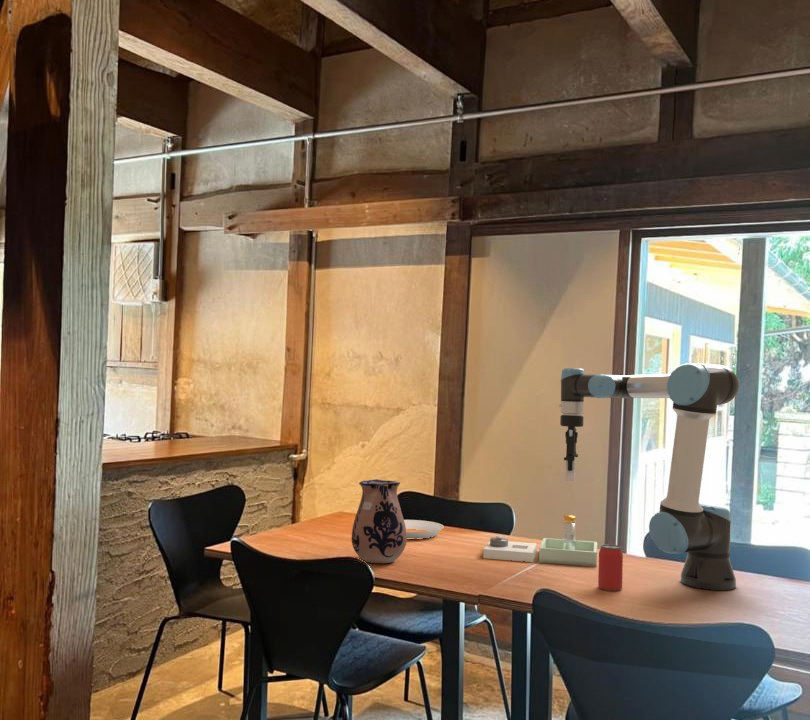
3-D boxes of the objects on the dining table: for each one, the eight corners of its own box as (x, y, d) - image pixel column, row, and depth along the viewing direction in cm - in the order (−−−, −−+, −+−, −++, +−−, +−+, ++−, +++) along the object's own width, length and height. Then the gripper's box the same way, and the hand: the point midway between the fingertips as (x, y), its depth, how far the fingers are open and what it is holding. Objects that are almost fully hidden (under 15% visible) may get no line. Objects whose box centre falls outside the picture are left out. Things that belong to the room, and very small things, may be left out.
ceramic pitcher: (361, 569, 239) (363, 486, 240) (340, 554, 259) (342, 477, 260) (414, 565, 246) (417, 484, 247) (390, 551, 265) (392, 476, 266)
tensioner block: (532, 562, 255) (533, 544, 255) (483, 558, 259) (483, 540, 259) (536, 552, 271) (537, 535, 271) (490, 548, 275) (490, 531, 275)
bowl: (410, 526, 314) (410, 517, 314) (457, 536, 296) (457, 526, 296) (363, 533, 296) (363, 524, 296) (410, 544, 278) (410, 534, 278)
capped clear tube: (574, 557, 260) (575, 517, 260) (562, 556, 261) (563, 516, 261) (575, 554, 264) (576, 515, 264) (562, 553, 265) (563, 514, 265)
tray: (596, 566, 251) (596, 552, 251) (539, 562, 256) (539, 548, 256) (596, 555, 269) (597, 541, 269) (543, 551, 273) (543, 537, 273)
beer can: (605, 592, 220) (606, 549, 220) (593, 586, 226) (594, 544, 227) (626, 591, 222) (627, 548, 222) (614, 585, 228) (614, 543, 228)
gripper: (562, 413, 276) (561, 474, 276) (558, 415, 252) (557, 482, 252) (584, 413, 275) (583, 475, 274) (582, 416, 250) (581, 483, 250)
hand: (570, 478), depth 263 cm, fingers open, 13 cm apart
